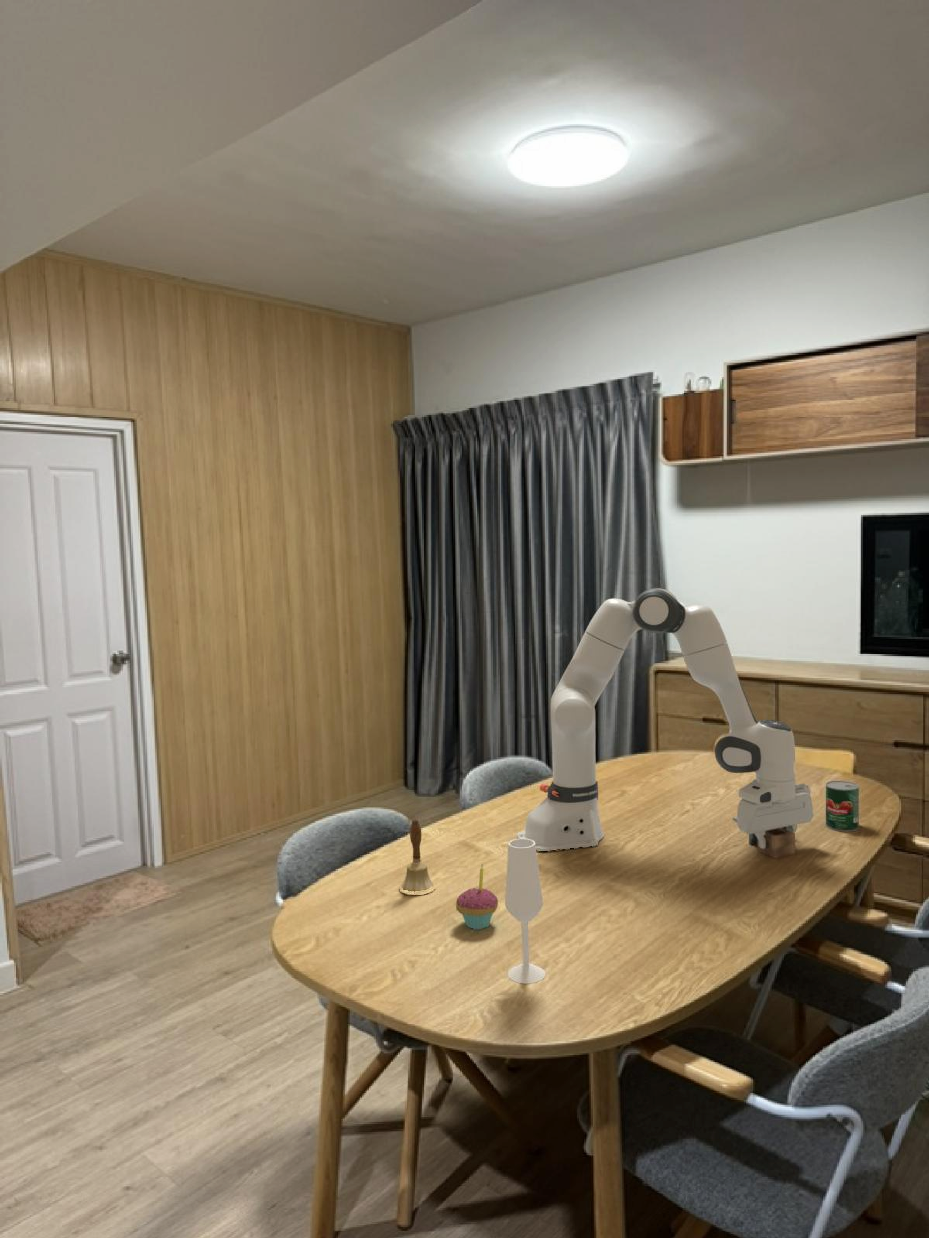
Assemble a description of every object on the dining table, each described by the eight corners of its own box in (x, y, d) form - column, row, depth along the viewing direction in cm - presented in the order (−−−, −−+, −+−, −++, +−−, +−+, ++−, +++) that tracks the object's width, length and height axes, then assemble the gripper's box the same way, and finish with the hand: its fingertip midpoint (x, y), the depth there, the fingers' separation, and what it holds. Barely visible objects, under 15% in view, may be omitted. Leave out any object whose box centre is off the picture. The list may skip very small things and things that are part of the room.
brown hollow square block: (775, 858, 201) (775, 837, 200) (757, 850, 206) (757, 830, 206) (795, 853, 203) (795, 833, 203) (777, 845, 209) (777, 826, 208)
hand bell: (443, 884, 193) (440, 816, 192) (423, 898, 186) (419, 827, 185) (412, 878, 198) (409, 811, 196) (392, 892, 190) (388, 822, 189)
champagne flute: (524, 987, 148) (519, 853, 145) (500, 972, 153) (495, 842, 151) (553, 974, 151) (548, 843, 149) (528, 960, 157) (524, 833, 155)
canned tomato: (827, 830, 218) (827, 788, 217) (824, 820, 225) (823, 779, 224) (861, 832, 215) (861, 790, 214) (856, 822, 223) (856, 781, 222)
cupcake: (475, 911, 179) (472, 856, 177) (507, 922, 173) (505, 864, 172) (448, 927, 172) (445, 869, 171) (481, 938, 167) (479, 878, 165)
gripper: (799, 779, 210) (800, 833, 211) (732, 791, 202) (733, 847, 204) (819, 785, 204) (819, 841, 205) (750, 798, 197) (751, 856, 198)
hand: (776, 844), depth 205 cm, fingers closed on brown hollow square block, 6 cm apart
